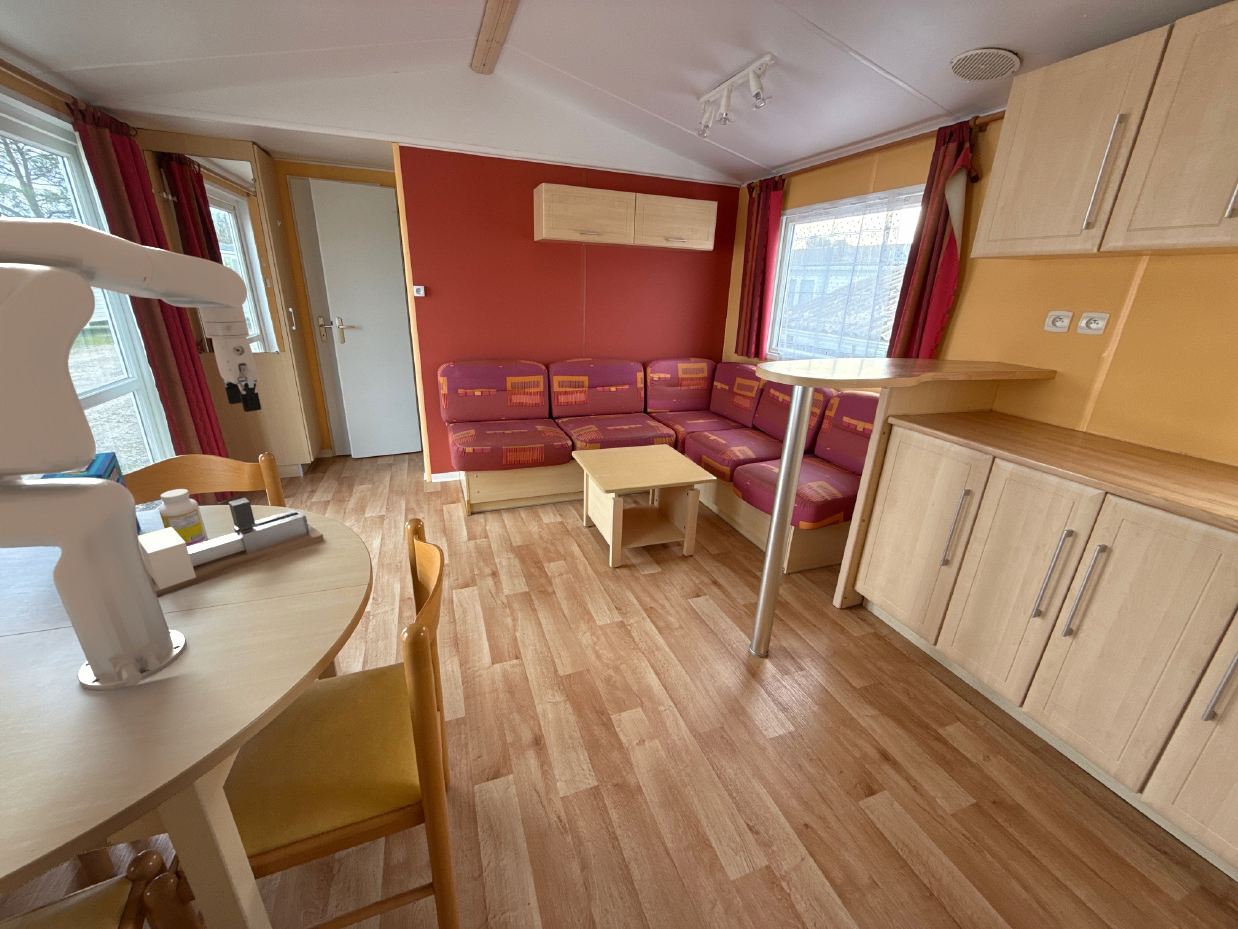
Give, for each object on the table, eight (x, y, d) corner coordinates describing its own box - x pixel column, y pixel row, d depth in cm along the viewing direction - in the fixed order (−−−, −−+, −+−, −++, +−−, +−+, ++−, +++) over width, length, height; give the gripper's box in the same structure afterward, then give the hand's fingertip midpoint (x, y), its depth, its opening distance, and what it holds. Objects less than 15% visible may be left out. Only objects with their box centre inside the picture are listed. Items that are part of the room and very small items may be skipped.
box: (88, 539, 114) (57, 458, 107) (141, 529, 119) (114, 451, 112) (72, 571, 102) (36, 483, 95) (132, 559, 107) (101, 474, 100)
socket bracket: (196, 577, 99) (185, 542, 96) (160, 589, 95) (148, 553, 92) (182, 560, 104) (171, 526, 102) (147, 570, 100) (135, 536, 98)
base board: (323, 540, 117) (322, 534, 117) (155, 598, 94) (153, 591, 94) (306, 527, 123) (305, 521, 122) (143, 579, 100) (141, 572, 100)
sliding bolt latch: (268, 542, 111) (258, 499, 107) (171, 573, 98) (155, 526, 94) (262, 537, 113) (252, 495, 109) (166, 567, 100) (151, 521, 96)
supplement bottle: (176, 539, 115) (160, 489, 111) (211, 534, 118) (197, 485, 114) (166, 553, 110) (149, 500, 105) (203, 547, 112) (188, 496, 108)
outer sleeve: (309, 534, 116) (305, 515, 115) (247, 555, 107) (242, 534, 105) (299, 527, 120) (295, 508, 118) (238, 546, 110) (233, 526, 109)
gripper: (261, 332, 104) (278, 410, 110) (233, 325, 114) (250, 397, 120) (218, 334, 98) (238, 417, 104) (192, 327, 108) (212, 402, 114)
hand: (245, 406), depth 112 cm, fingers open, 9 cm apart
